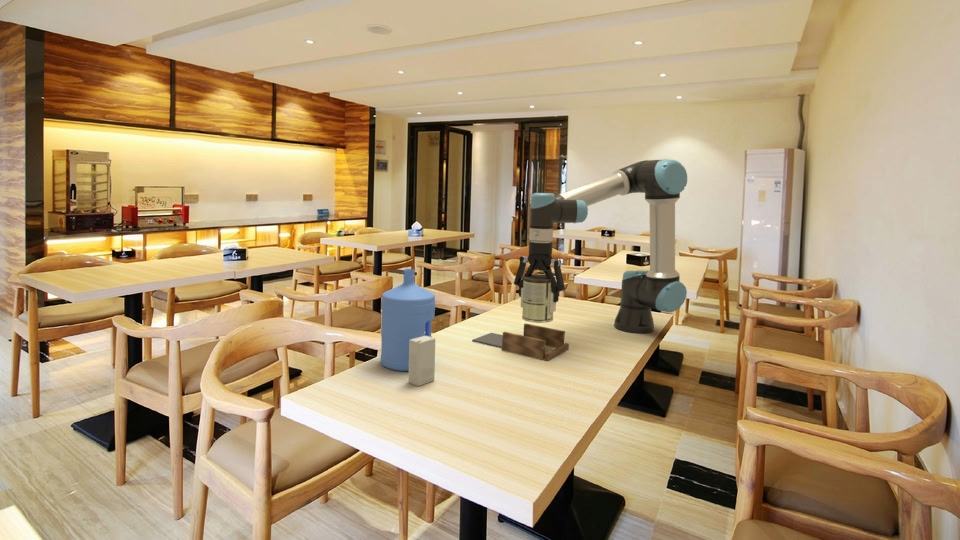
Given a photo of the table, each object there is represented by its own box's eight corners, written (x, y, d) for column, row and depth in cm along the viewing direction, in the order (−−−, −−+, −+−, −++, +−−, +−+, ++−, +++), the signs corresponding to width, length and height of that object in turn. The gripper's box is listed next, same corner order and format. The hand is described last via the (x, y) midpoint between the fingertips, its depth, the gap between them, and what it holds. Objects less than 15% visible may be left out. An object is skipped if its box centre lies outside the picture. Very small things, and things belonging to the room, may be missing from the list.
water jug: (390, 375, 145) (391, 275, 140) (374, 358, 158) (374, 266, 154) (442, 368, 152) (444, 273, 148) (422, 352, 166) (424, 265, 161)
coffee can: (522, 314, 177) (523, 273, 175) (552, 315, 176) (554, 274, 174) (521, 322, 167) (522, 278, 165) (553, 323, 166) (555, 280, 164)
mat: (519, 340, 183) (520, 338, 183) (502, 348, 173) (502, 346, 173) (491, 334, 189) (491, 332, 189) (472, 341, 180) (472, 339, 180)
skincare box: (423, 376, 144) (424, 334, 143) (435, 381, 142) (436, 338, 140) (407, 382, 140) (407, 338, 138) (418, 387, 137) (419, 342, 135)
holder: (568, 349, 175) (569, 332, 174) (547, 361, 162) (549, 342, 161) (524, 339, 184) (525, 323, 183) (501, 350, 171) (502, 332, 170)
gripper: (504, 239, 171) (502, 306, 174) (568, 245, 158) (564, 316, 162) (516, 238, 177) (513, 302, 180) (578, 243, 164) (574, 312, 168)
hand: (537, 309), depth 171 cm, fingers closed on coffee can, 10 cm apart
